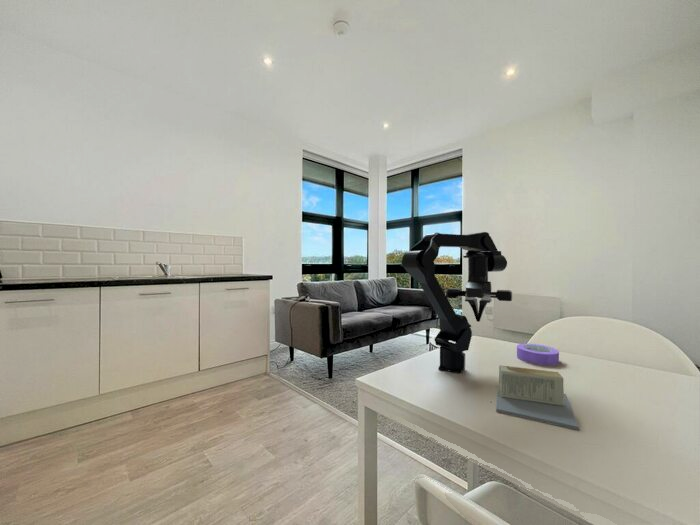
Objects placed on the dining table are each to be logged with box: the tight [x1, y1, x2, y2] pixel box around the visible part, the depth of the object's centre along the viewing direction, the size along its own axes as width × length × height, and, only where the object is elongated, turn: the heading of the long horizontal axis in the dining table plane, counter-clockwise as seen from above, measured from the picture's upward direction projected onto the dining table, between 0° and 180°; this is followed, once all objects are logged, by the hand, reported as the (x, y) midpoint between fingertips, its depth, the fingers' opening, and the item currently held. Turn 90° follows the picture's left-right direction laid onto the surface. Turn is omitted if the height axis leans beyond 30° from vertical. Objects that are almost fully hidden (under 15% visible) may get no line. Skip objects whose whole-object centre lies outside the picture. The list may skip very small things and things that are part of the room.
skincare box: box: [498, 364, 565, 406], centre depth 67 cm, size 6×4×12 cm
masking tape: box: [516, 343, 560, 366], centre depth 96 cm, size 12×12×4 cm
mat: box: [495, 389, 580, 431], centre depth 66 cm, size 14×16×1 cm
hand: (478, 321), depth 93 cm, fingers closed
